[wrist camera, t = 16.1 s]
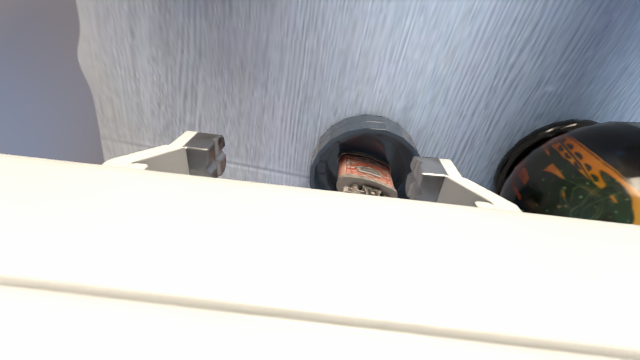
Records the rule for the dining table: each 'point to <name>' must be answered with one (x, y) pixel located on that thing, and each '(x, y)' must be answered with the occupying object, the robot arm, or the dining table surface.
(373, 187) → the lighter
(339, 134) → the bowl
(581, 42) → the dining table surface
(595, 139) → the amphora vase
